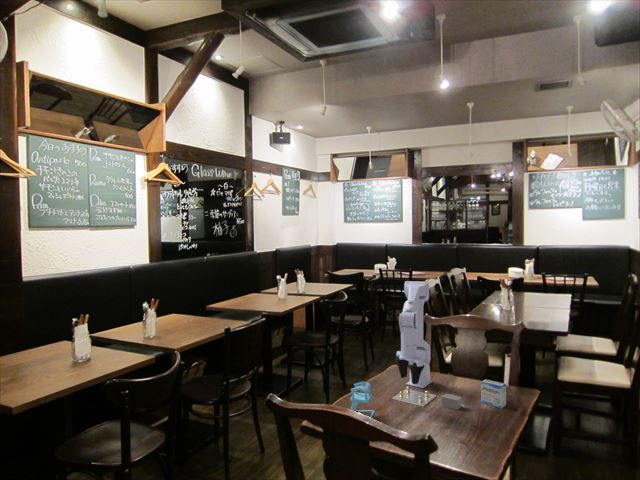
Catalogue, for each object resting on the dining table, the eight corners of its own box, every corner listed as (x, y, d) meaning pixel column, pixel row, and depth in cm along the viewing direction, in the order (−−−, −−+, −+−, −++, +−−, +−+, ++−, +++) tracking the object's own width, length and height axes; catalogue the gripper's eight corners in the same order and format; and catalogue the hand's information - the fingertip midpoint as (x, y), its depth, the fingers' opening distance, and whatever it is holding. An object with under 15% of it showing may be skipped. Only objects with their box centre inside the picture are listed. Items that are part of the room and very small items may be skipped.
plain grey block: (442, 401, 170) (442, 390, 170) (470, 408, 163) (470, 396, 163) (432, 409, 163) (432, 397, 162) (462, 417, 156) (462, 404, 156)
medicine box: (480, 404, 165) (480, 381, 165) (485, 400, 169) (485, 378, 169) (502, 409, 160) (501, 386, 160) (506, 406, 163) (506, 383, 163)
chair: (352, 410, 162) (352, 378, 162) (374, 412, 160) (374, 380, 159) (347, 419, 155) (346, 385, 155) (370, 421, 152) (369, 387, 152)
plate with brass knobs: (405, 391, 180) (405, 383, 180) (436, 397, 173) (436, 390, 173) (392, 400, 171) (392, 392, 171) (423, 407, 163) (423, 399, 163)
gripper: (389, 341, 169) (390, 376, 169) (410, 350, 155) (411, 388, 155) (405, 339, 171) (405, 373, 172) (427, 347, 158) (428, 385, 158)
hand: (409, 380), depth 164 cm, fingers open, 7 cm apart
